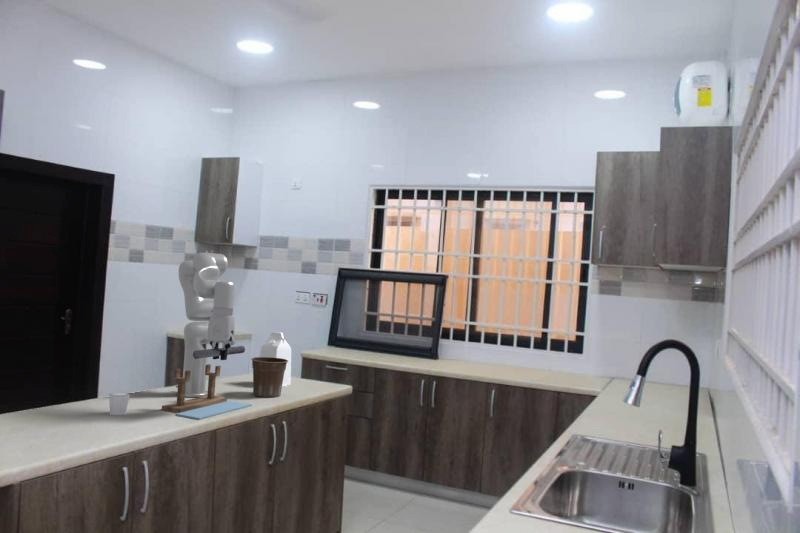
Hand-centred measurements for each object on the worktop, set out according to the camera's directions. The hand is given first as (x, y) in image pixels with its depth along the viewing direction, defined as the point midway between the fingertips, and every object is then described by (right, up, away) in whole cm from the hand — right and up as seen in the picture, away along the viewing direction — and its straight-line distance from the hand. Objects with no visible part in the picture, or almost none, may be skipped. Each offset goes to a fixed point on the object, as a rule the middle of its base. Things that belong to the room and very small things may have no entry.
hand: (219, 359), depth 248 cm
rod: (0, +1, 0) cm, 1 cm away
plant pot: (+11, -22, +37) cm, 44 cm away
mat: (-2, -20, 0) cm, 20 cm away
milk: (+9, -22, +63) cm, 67 cm away
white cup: (-33, -18, -15) cm, 41 cm away
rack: (-11, -20, +6) cm, 24 cm away
